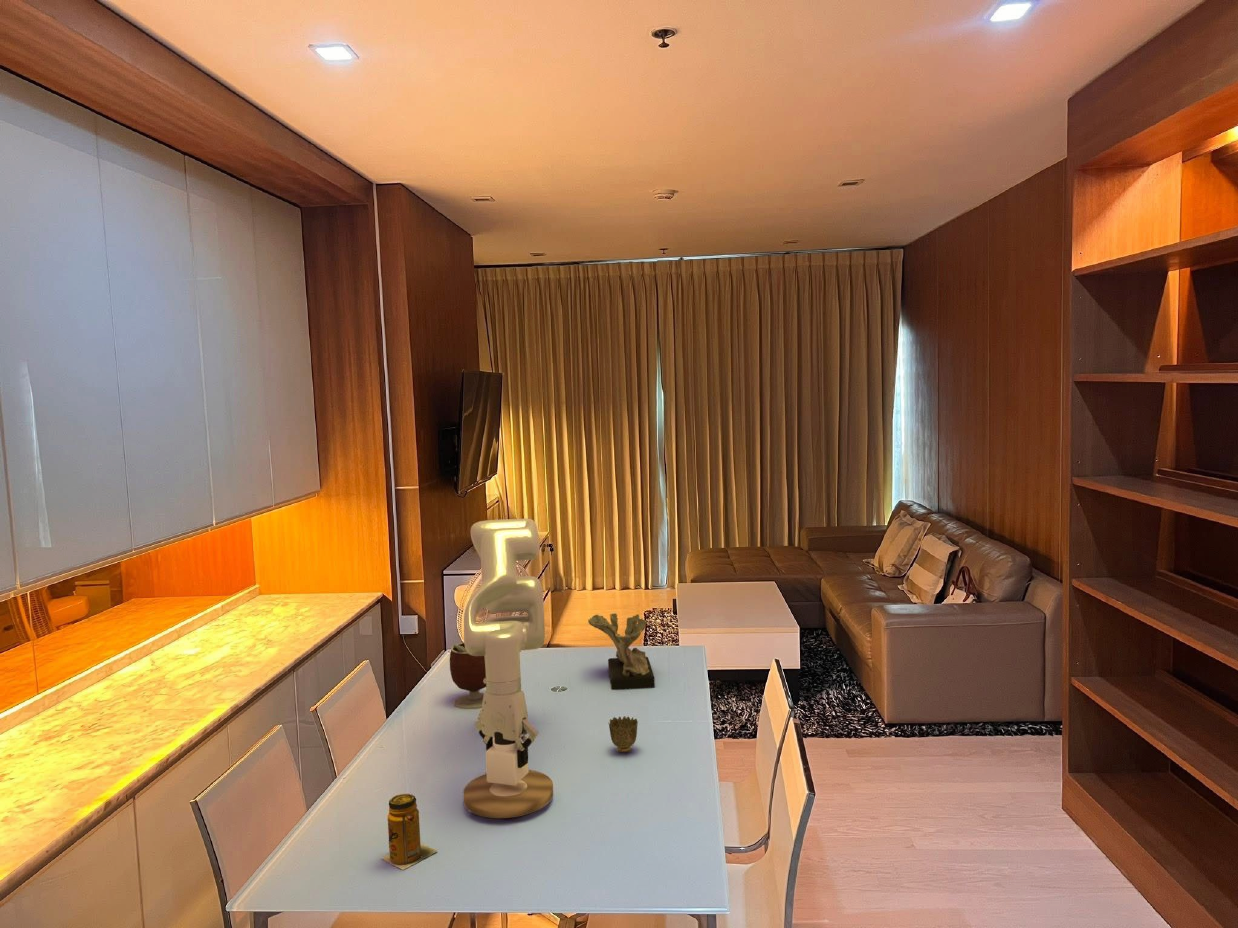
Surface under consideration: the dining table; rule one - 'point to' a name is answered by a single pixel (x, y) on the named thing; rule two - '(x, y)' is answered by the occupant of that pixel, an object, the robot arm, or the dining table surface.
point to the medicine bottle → (503, 762)
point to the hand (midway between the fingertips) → (507, 761)
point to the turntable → (508, 796)
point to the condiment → (405, 833)
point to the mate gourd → (467, 676)
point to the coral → (626, 654)
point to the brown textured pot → (623, 733)
